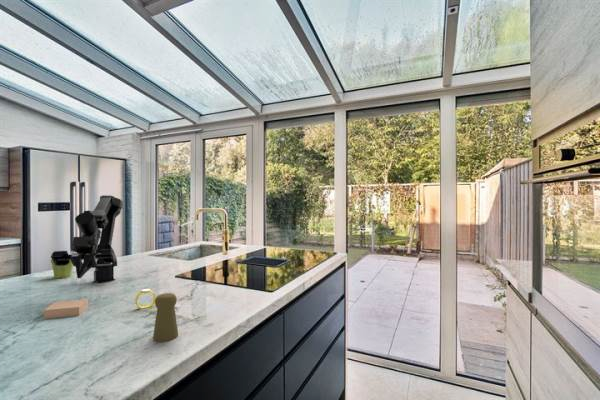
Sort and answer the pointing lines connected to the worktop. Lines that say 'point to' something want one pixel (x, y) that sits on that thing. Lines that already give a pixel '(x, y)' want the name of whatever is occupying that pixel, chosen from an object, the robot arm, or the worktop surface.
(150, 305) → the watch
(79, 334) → the worktop surface
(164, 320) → the cork
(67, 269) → the plant pot
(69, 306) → the tile
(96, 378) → the worktop surface
